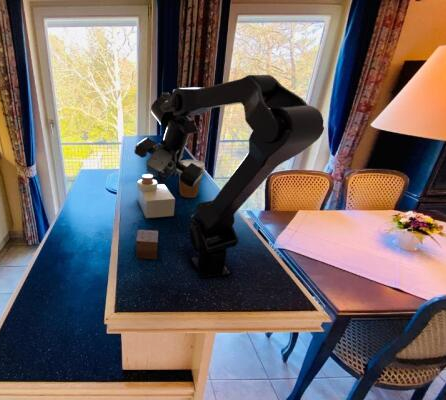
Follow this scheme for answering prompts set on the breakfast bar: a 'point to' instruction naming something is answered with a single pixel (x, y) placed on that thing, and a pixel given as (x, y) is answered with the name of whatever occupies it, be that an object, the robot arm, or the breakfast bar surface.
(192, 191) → the disposable coffee cup
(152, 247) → the brown cube
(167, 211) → the white box
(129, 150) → the breakfast bar surface
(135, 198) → the breakfast bar surface
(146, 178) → the release button
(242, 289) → the breakfast bar surface
